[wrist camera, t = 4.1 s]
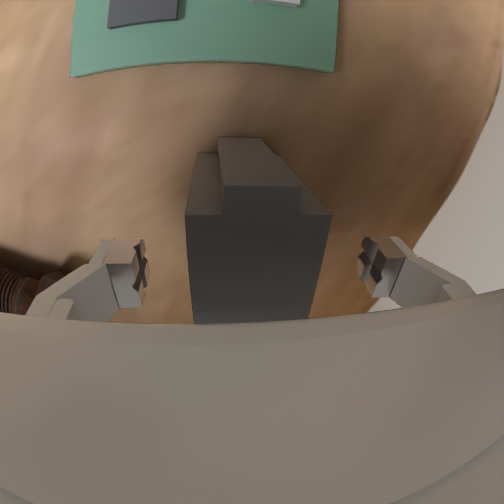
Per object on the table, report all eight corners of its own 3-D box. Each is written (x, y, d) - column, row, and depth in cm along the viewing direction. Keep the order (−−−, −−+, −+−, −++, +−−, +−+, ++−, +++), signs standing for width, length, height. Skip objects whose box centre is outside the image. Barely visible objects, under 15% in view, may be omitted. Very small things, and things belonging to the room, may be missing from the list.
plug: (267, 269, 17) (294, 364, 12) (200, 270, 17) (200, 371, 11) (280, 138, 13) (337, 188, 7) (197, 137, 13) (183, 186, 7)
